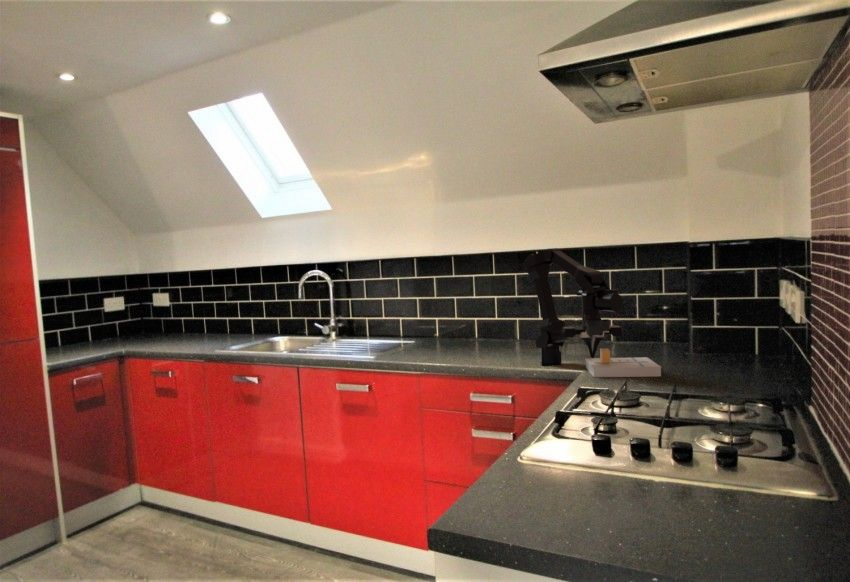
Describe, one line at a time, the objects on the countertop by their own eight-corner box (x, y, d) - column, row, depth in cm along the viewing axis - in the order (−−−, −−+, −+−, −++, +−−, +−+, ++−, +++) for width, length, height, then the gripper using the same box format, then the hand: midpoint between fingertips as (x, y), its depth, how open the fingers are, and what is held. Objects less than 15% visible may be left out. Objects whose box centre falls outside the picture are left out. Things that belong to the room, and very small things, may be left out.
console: (593, 377, 182) (593, 367, 182) (585, 367, 198) (585, 358, 198) (661, 376, 180) (660, 366, 180) (647, 366, 196) (647, 356, 195)
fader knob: (602, 370, 188) (602, 350, 187) (600, 367, 191) (600, 348, 191) (610, 370, 187) (610, 350, 187) (608, 367, 191) (607, 348, 191)
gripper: (564, 313, 182) (565, 363, 183) (626, 311, 180) (627, 362, 180) (560, 309, 193) (561, 357, 194) (619, 308, 191) (620, 355, 192)
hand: (592, 358), depth 190 cm, fingers closed
